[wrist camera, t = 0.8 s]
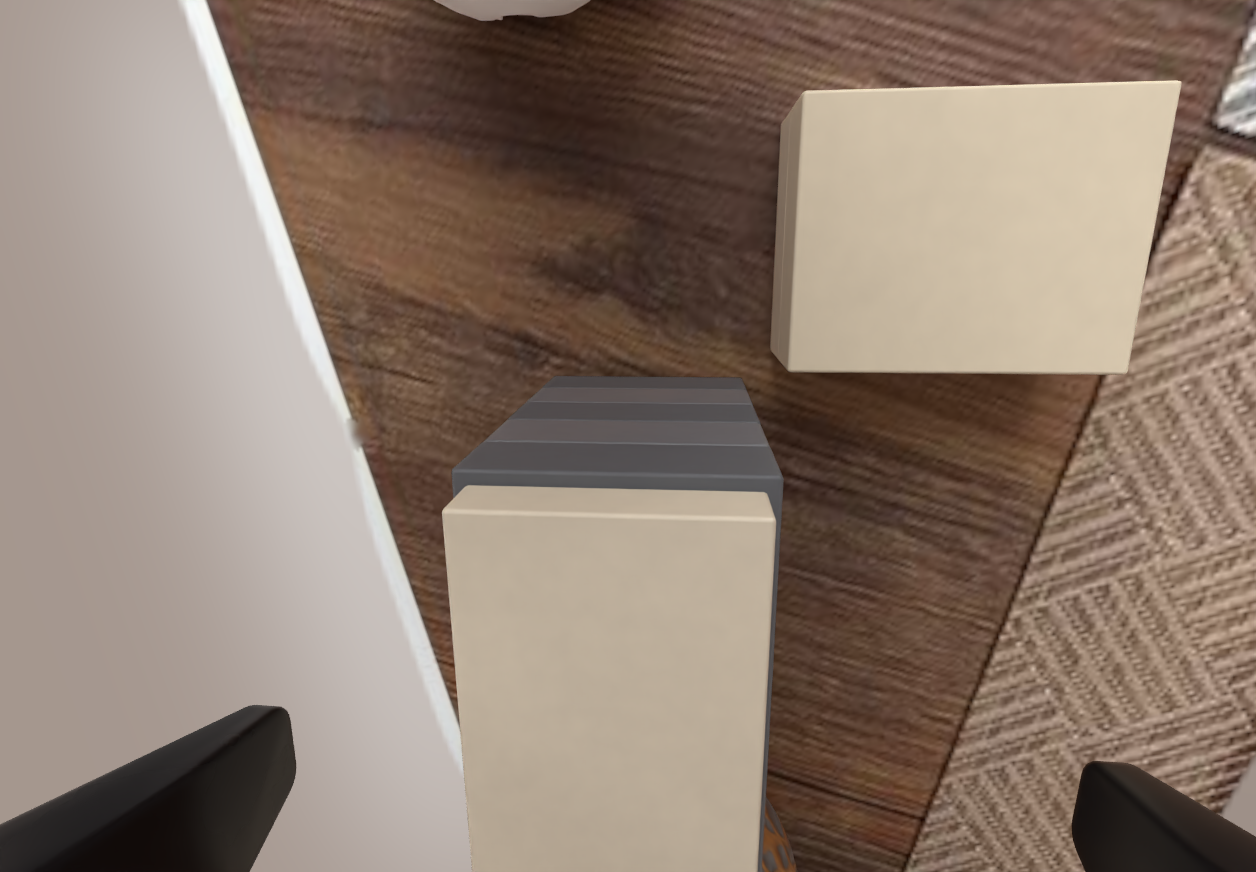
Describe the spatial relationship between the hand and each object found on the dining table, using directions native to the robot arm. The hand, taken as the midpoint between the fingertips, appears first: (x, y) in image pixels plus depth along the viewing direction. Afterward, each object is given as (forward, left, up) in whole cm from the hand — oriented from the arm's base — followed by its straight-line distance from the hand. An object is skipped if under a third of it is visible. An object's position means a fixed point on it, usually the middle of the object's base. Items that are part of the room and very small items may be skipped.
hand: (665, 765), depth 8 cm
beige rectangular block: (+6, -6, -13) cm, 16 cm away
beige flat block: (-2, +1, -4) cm, 5 cm away
